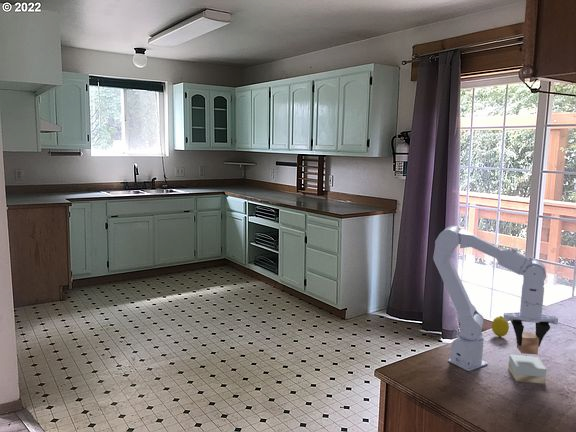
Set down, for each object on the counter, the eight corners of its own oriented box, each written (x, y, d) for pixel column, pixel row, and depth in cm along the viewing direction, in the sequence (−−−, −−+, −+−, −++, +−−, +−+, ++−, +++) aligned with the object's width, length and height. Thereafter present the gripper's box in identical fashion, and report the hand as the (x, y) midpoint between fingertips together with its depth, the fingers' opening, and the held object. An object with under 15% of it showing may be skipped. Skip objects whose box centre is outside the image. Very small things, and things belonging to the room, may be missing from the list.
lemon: (510, 340, 165) (512, 319, 164) (494, 340, 166) (496, 318, 164) (503, 334, 171) (505, 313, 170) (488, 334, 171) (490, 313, 170)
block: (521, 353, 139) (522, 337, 138) (516, 347, 143) (518, 331, 142) (537, 354, 138) (539, 338, 137) (532, 348, 142) (533, 332, 141)
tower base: (515, 382, 137) (516, 374, 137) (508, 369, 145) (508, 362, 145) (545, 385, 136) (545, 377, 136) (535, 372, 144) (536, 364, 143)
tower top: (515, 374, 137) (516, 366, 137) (509, 361, 145) (509, 354, 144) (545, 377, 135) (546, 369, 135) (537, 364, 143) (537, 357, 143)
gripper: (509, 304, 135) (506, 348, 137) (563, 307, 133) (559, 352, 135) (502, 296, 142) (499, 338, 144) (554, 299, 139) (550, 342, 142)
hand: (527, 344), depth 140 cm, fingers closed on block, 4 cm apart
